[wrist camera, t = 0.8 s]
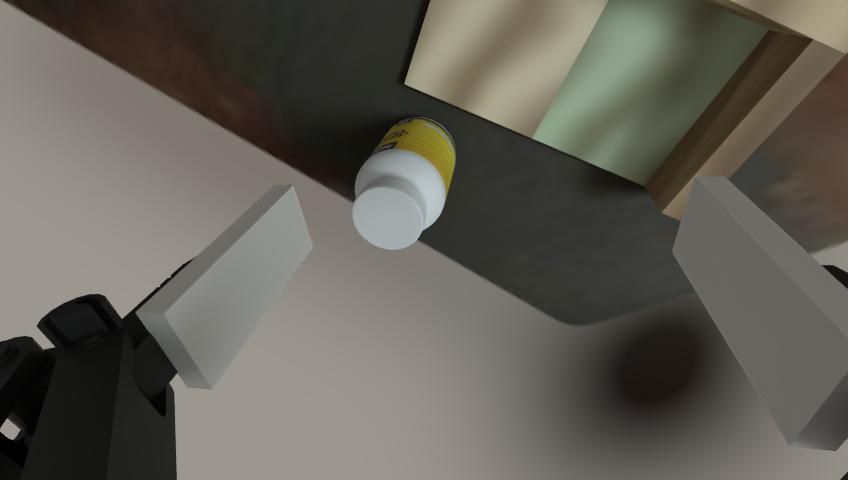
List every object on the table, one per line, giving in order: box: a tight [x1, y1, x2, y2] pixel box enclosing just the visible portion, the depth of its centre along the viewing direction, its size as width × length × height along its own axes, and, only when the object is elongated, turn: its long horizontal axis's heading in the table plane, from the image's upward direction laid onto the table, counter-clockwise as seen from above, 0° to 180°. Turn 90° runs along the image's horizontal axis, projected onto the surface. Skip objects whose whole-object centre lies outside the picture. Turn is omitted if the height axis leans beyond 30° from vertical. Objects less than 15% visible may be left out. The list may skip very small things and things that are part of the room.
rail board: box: [404, 0, 848, 221], centre depth 25 cm, size 23×14×5 cm, turn 70°
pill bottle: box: [352, 117, 456, 250], centre depth 29 cm, size 6×6×12 cm
